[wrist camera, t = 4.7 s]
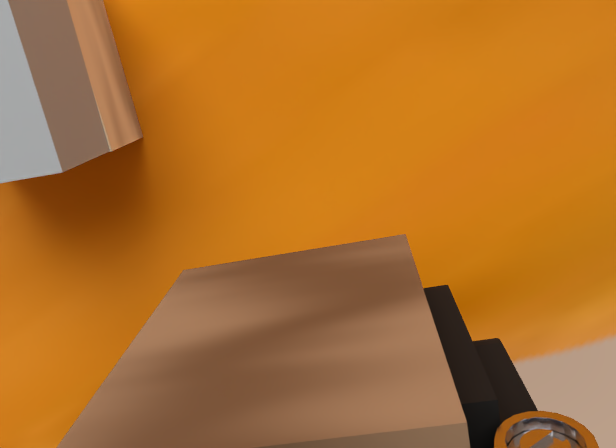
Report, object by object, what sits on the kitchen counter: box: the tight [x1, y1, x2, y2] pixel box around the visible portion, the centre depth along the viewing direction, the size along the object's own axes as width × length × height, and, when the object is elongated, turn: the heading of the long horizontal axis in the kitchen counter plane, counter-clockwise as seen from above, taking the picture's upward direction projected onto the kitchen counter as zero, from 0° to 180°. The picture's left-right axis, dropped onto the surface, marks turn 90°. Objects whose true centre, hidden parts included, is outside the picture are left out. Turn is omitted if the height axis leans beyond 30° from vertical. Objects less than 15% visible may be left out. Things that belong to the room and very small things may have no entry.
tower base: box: [67, 0, 143, 152], centre depth 22 cm, size 7×7×4 cm
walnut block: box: [57, 234, 470, 448], centre depth 10 cm, size 5×5×6 cm
